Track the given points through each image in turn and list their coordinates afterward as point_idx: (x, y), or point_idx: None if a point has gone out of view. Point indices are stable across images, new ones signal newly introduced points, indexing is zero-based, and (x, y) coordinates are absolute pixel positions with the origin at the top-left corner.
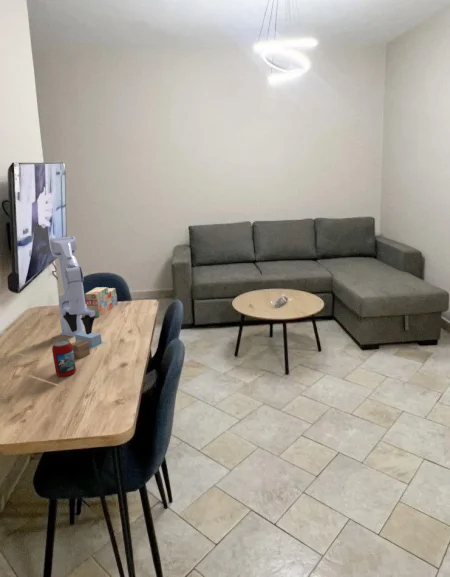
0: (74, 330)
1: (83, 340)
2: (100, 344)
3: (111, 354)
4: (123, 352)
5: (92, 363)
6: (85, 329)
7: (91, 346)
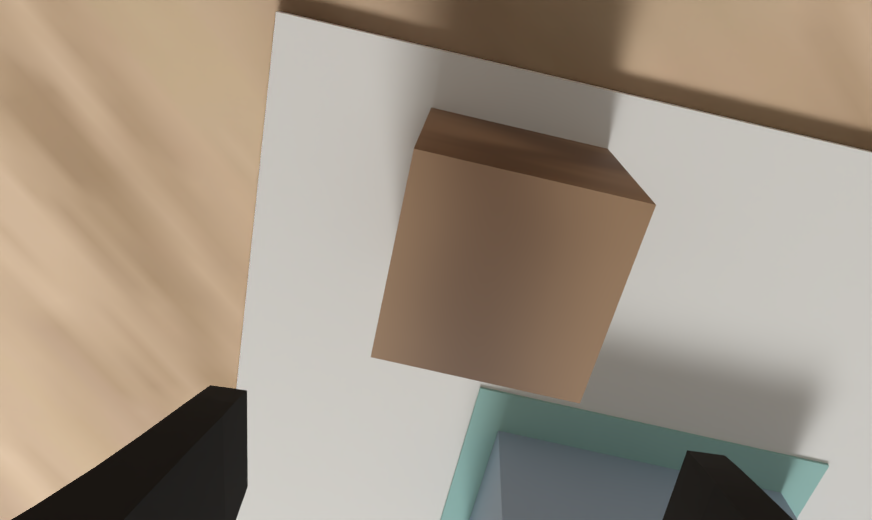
0: (680, 506)
1: (656, 509)
2: (454, 506)
3: (165, 329)
4: (81, 396)
5: (187, 48)
6: (164, 458)
7: (512, 440)
